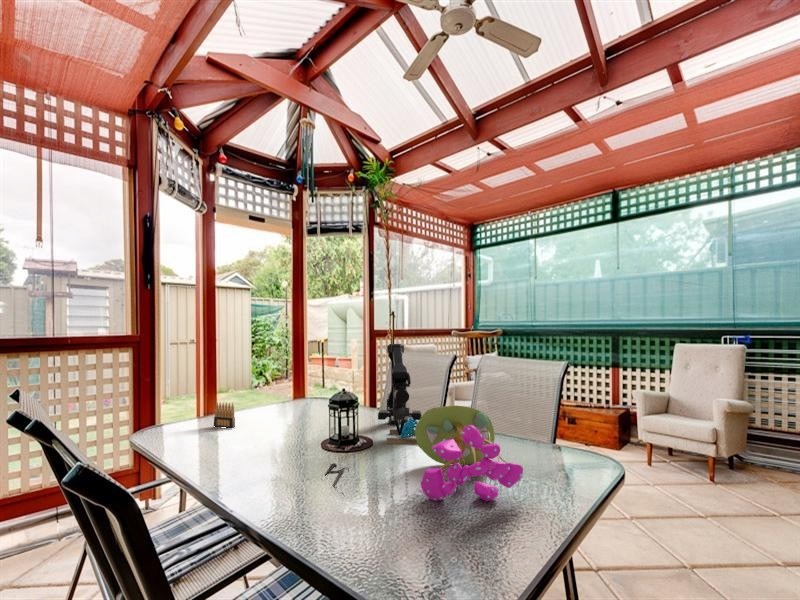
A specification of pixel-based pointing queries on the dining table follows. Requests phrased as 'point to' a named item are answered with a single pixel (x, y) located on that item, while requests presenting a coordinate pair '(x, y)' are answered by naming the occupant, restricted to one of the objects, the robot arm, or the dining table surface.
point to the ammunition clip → (224, 416)
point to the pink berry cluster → (462, 452)
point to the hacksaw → (335, 472)
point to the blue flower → (409, 428)
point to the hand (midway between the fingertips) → (399, 435)
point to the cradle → (400, 439)
